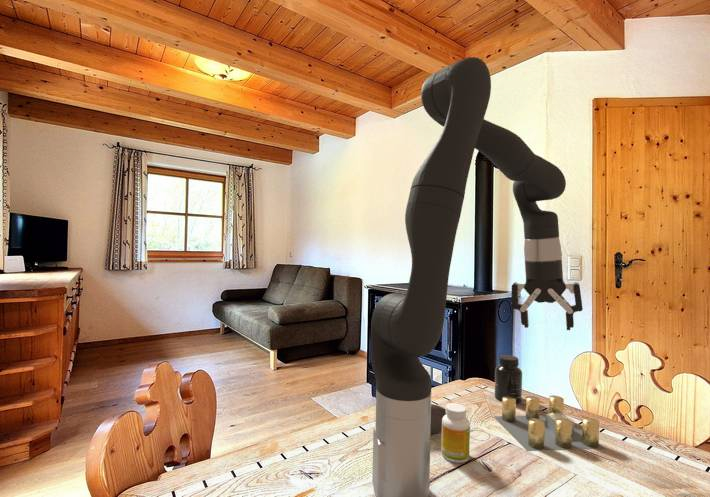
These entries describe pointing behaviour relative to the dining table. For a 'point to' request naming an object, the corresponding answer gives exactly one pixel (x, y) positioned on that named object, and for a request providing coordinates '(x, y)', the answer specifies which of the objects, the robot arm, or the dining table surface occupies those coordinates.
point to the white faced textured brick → (552, 421)
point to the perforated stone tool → (436, 418)
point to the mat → (521, 435)
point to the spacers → (562, 424)
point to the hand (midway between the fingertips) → (547, 328)
